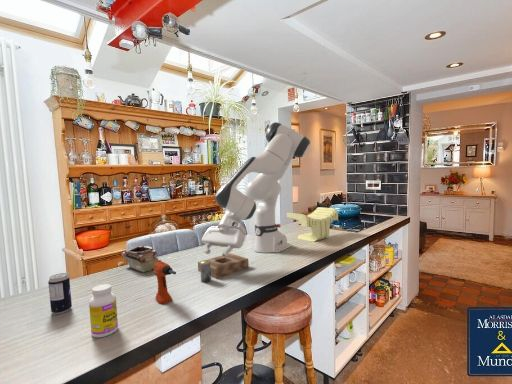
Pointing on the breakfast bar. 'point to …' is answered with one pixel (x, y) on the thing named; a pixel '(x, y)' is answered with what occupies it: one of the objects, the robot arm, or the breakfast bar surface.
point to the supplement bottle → (103, 311)
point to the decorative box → (141, 258)
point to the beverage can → (60, 293)
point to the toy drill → (162, 281)
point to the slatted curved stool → (316, 223)
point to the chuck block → (226, 265)
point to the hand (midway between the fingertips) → (215, 254)
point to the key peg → (205, 271)
